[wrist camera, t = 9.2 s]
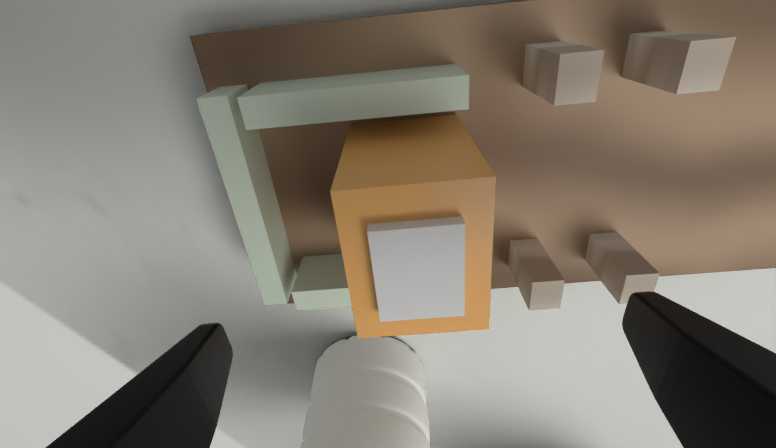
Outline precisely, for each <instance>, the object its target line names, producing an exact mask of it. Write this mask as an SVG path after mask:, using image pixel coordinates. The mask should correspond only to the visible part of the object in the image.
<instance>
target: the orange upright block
mask: <svg viewBox="0 0 776 448" xmlns="http://www.w3.org/2000/svg"><path fill="white" fill-rule="evenodd" d="M495 187H496V176H495V174H494V173H493V171H492V169H491V168H490V166H489V165H488V163H487V162H486V160H485V158H484V157H483V155H482V154H481V152H480V151H479V149H478V147H477V146H476V144H475V143H474V141H473V140H472V138H471V136H470V135H469V133H468V132H467V130H466V129H465V127H464V126H463V124H462V122H461V121H460V119H459V118H458V116H457V115H456V114H452V115H441V116H431V117H421V118H411V119H401V120H390V121H380V122H370V123H360V124H350V127H349V131H348V134H347V137H346V140H345V144H344V147H343V150H342V154H341V157H340V160H339V164H338V167H337V170H336V174H335V177H334V180H333V184H332V187H331V190H330V193H331V198H332V204H333V209H334V214H335V220H336V225H337V230H338V235H339V241H340V246H341V251H342V257H343V262H344V267H345V273H346V278H347V283H348V288H349V294H350V299H351V304H352V310H353V315H354V320H355V325H356V331H357V336H358V338H371V337H385V336H399V335H413V334H427V333H440V332H454V331H468V330H482V329H489V315H490V293H491V272H492V251H493V230H494V209H495Z"/></svg>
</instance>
